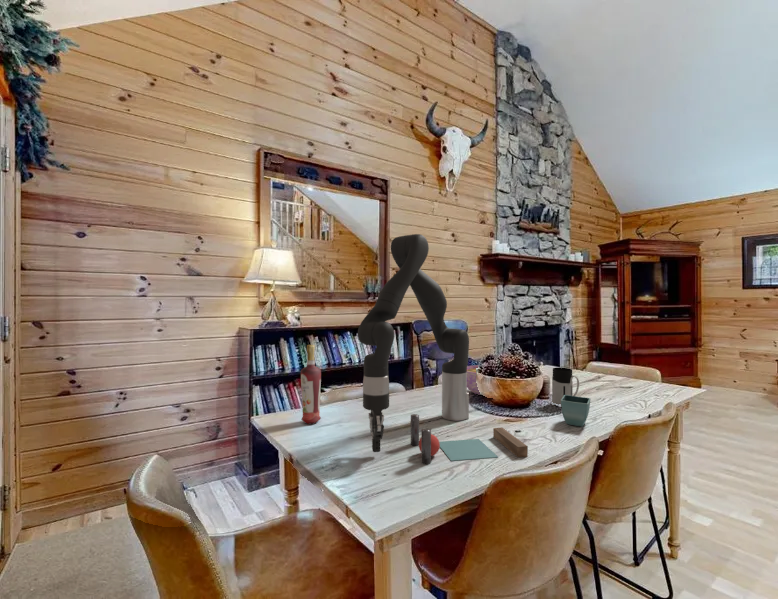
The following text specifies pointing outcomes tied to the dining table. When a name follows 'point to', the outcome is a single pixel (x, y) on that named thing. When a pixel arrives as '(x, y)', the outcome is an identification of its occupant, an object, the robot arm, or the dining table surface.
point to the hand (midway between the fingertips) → (376, 451)
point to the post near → (426, 445)
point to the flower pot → (575, 409)
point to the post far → (414, 430)
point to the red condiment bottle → (311, 389)
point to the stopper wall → (510, 442)
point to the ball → (432, 445)
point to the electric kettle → (562, 384)
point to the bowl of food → (472, 379)
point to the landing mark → (466, 450)
